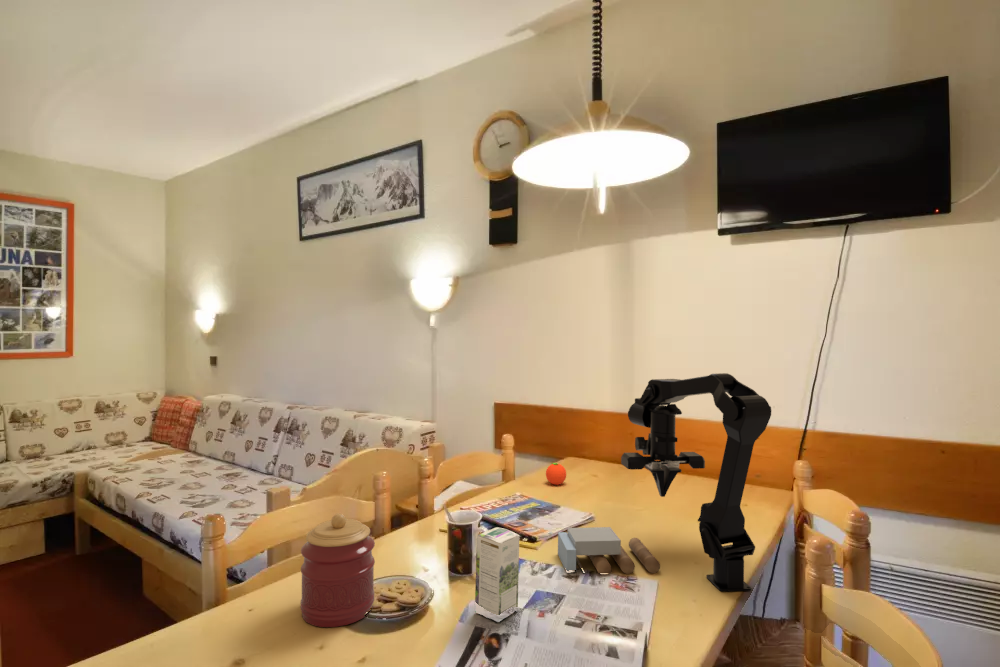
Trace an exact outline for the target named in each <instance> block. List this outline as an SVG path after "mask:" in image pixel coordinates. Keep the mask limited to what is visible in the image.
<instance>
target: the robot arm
mask: <svg viewBox="0 0 1000 667" xmlns="http://www.w3.org/2000/svg"><path fill="white" fill-rule="evenodd" d="M707 394H711V395H712V397H713V402H714V405H715V407H716V408H717V409H718V410H719V411H720V413H722V425H723V429H724V430H725V432H726V436H727V437H726V441H725V442H726V443H725V446H724V452H723V456H722V462H721V466H720V469H719V470H720V471H719V476H718V480H717V483H716V484H717V485H716V490H715V495H714V499H713V500H712V501H711V502H706V503H702V505H701V507H700V515H699V517H698V519H697V522H699V524H698V525H699V526H698V530H699V533H700V534H699V535H700V538H701V543H702V547H703V551H704V552H703V553H705V554H706V555H708V557H709V558H710V559H713V560H712V561H713V562H712V564H713V568H712V570H713V573H712V574H706V579H707V580H708V581H710V582H711V584H712V585H714V587H716V589H717V590H719V592H745V591H752V586H750V585H749V584H748V583H747V582H745V559H744V558H745V556H753V555H754V553H755V550H756V545H755V544H754V542H753V540H752V539H751V537H750V535H749V533H748V532H747V530H746V529H745V525H746V524H745V521H746V520H745V519H746V518H745V516H744V514H743V511H742V508H741V502H742V499H743V496H744V490H745V486H746V483H747V482H746V480H747V476H748V472H749V468H750V463H751V459H752V455H753V450H754V445H755V443H756V441H757V440H758V439H759V438H760V436H761V435H762V434H763V433H764V432H765V431H766V429H767V427H768V425H769V422H770V419H771V417H772V407H771V405H770V404H769V402H768V401H767V399H766V398H765V397H763V396H762V395H759V393H757V392H756V391H755V390H754V389H752V388H751V387H748V385H745V384H744V383H742V382H740V381H739V380H737V379H736V378H735V377H734V375H732V374H729V373H728V372H727V373H711V374H709V375H703V376H697V377H691V378H686V379H685V378H684V379H680V378H679V379H678V378H658V379H654V378H652V379H650V380H649V381H648V383H647V386H646V387H645V389H644V390H643V393H642V395H641V397H637V398H634V403H632V404H631V405H630V407H629V409H628V411H627V416H628V420H629V421H630V423H632V424H634V425H638V426H640V427H644V428H648V429H650V431H649V432H650V433H648V438H647V439H646V438H645V437H644V436H636V437H635V440H634V445H635V446H634V447H635V450H636V451H642V454H640V453H639V452H623V454H622V455H621V457H620V458H621V459H620V463H621V465H622V466H624V467H625V468H626V469H628V470H631V471H633V470H643V469H644V468H645V469H647V470H648V471H649V472H650V473H651V475H652V477H653V479H654V482H655V485H656V488H657V490H658V493H659V496H660V497H661V498H665V497H666V495H667V492H668V491H669V489H670V486H671V484H672V483H673V481H674V479H676V477H677V475H678V474H679V473H682V469H681V468H680V465H688V466H690V467H691V469H694V470H695V469H696V470H697V469H706V461H705V458H704V457H703V456H702V455H701V454H699V453H697V452H695V451H680V453H679V455H678V454H677V453H676V443H678V437H677V436H676V416H677V415H678V416H679V415H682V414H683V411H682V410H681V409H680V408H679V407H678V406H677V405H676V403H677V402H679V401H683V400H684V399H685V398H688V397H691V396H696V395H697V396H698V395H707ZM646 455H647V456H646ZM726 544H727V545H726Z"/></svg>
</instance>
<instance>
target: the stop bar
mask: <svg viewBox="0 0 1000 667" xmlns="http://www.w3.org/2000/svg"><path fill="white" fill-rule="evenodd" d="M557 555H558V558H559V560H560V562H561V564H562V567H563V568H564V567H565V568H566V570H567V571H569V570H576V571H577V562H576V549H575V547H574V545H573V543H572V541H571V539H570V538H569V536H568V534H567V531H565V532H562V531H561V532H559V531H558V533H557Z"/></svg>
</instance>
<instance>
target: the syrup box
mask: <svg viewBox="0 0 1000 667" xmlns="http://www.w3.org/2000/svg"><path fill="white" fill-rule="evenodd" d="M475 540H476V542H475V543H476V544H475V545H476V546H475V547H476V548H475V586H474V587H475V590H474V591H475V592H474V595H475V597H474V603H475V602H476V603H477V604H478V605H479V606H481V607H483V608H484V609H486V610H487V611H489V612H491V613H493V614H496V615H500V614H501V613H503V612H504V611H506V610H507V609H509V608H511V607H518V608H519V576H520V575H519V574H520V573H519V570H520V569H519V568H520V535H519V534H518V533H515V532H514V531H512V530H509V529H507V528H502V527H498V526H497V527H494V528H492V529H489V530H487V531H484V532H482V533H480V534H478V535H476V539H475Z"/></svg>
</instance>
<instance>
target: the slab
mask: <svg viewBox="0 0 1000 667" xmlns="http://www.w3.org/2000/svg"><path fill="white" fill-rule="evenodd" d="M566 532H567V534H568V536H569V538H570V539H571V541H572V543H573V545H574V547H575V549H576V556H577V557H578V556H588V555H604V556H609V555H610V556H612V555H615V554H621V547H622V543H621V542H622V541H621V539H620V537H618V535H617V534H616V532H615V531H614V530H613V529H612V528H611V526H607V527H606V526H599V527H598V526H595V527H567V531H566Z"/></svg>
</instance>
